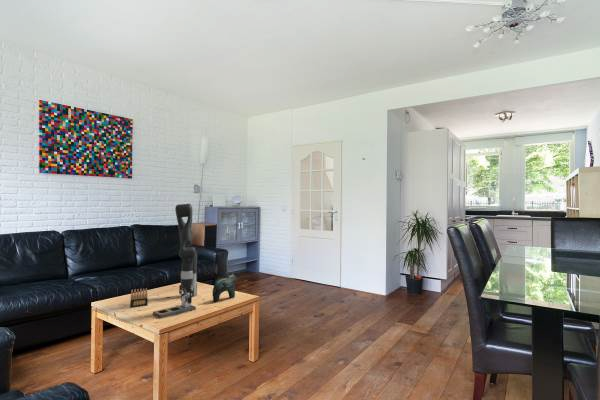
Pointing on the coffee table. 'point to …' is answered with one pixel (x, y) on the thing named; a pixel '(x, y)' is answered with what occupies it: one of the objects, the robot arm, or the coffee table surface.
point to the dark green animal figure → (224, 287)
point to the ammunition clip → (139, 298)
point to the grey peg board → (172, 311)
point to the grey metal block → (185, 302)
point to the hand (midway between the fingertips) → (186, 302)
